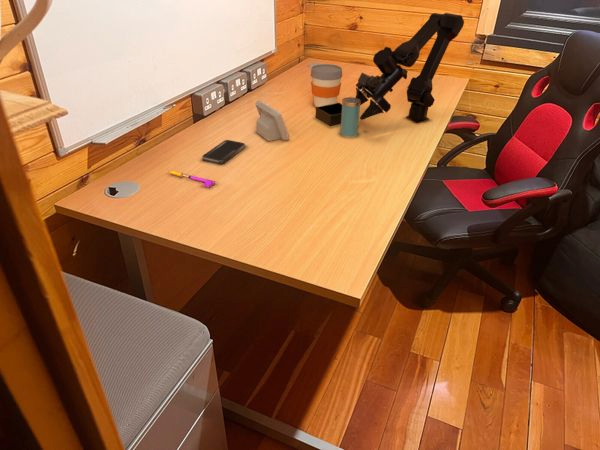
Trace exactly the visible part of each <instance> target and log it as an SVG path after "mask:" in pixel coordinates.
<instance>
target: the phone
mask: <svg viewBox="0 0 600 450" xmlns="http://www.w3.org/2000/svg"><path fill="white" fill-rule="evenodd" d="M245 148H246V144H245V142H240V141H236V140H231V139H225V140H223V141H222V142H220V143H219V144H217V145H216V146H214V147H213V148H212V149H210V150H209V151H207V152H206V153H204V154H203V155H202V160H203V161H204V162H208V163H212V164H217V165H224V164H226V163H227V162H228V161H229V160H231V159H233V157H235V156H236V155H237V154H239V153H240V152H241V151H243V150H244V149H245Z"/></svg>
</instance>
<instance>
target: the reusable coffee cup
mask: <svg viewBox="0 0 600 450" xmlns="http://www.w3.org/2000/svg"><path fill="white" fill-rule="evenodd" d="M310 78H311V82H310V86H311V87H310V88H311V94H312V96H313V106H315V108H316V107H320V106H325V105H330V104H335V103H338V98H339V95H340V92H341V86H342V78H343V68H342V67H341V66H339V65H337V64H331V63H321V64H315V65H313V66H312V67H311V70H310Z"/></svg>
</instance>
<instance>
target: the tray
mask: <svg viewBox="0 0 600 450" xmlns="http://www.w3.org/2000/svg"><path fill="white" fill-rule="evenodd" d="M341 114H342V103H341V102H337V103H335V104H330V105H325V106H320V107H316V106H315V119H317V120H318V121H320V122H321V123H324V124H325V125H327V126H329V127H335V126H338V125H341Z"/></svg>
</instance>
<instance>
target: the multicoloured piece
mask: <svg viewBox="0 0 600 450" xmlns="http://www.w3.org/2000/svg"><path fill="white" fill-rule="evenodd" d="M169 174H171V175H174V176H177V177H181V178H183V177H187V178H188V179H190V180H194V181H198V182H201V183H204V184H203V186H202V187H204V188H208V189H210V187H211V186H212V187H213V186H214V185H215V184H216V181H215V180H212V179H208V178H207V179H206V178H203V177H198V176H194V175H185V174H184V172H178V171H174V170H170V171H169Z"/></svg>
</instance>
